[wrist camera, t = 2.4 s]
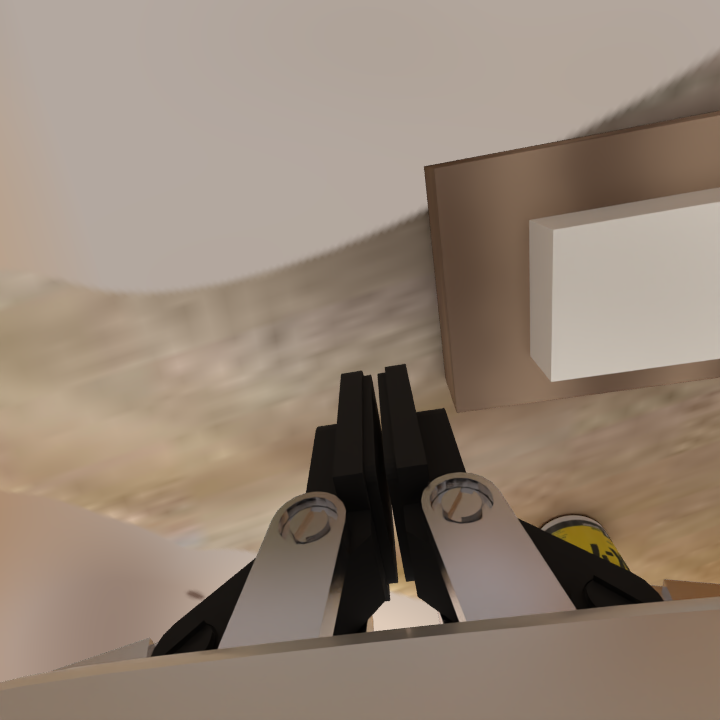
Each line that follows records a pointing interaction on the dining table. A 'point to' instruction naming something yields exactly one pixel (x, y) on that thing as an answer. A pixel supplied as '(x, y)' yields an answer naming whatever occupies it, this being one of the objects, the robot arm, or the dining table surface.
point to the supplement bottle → (585, 537)
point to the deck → (511, 247)
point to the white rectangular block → (626, 286)
